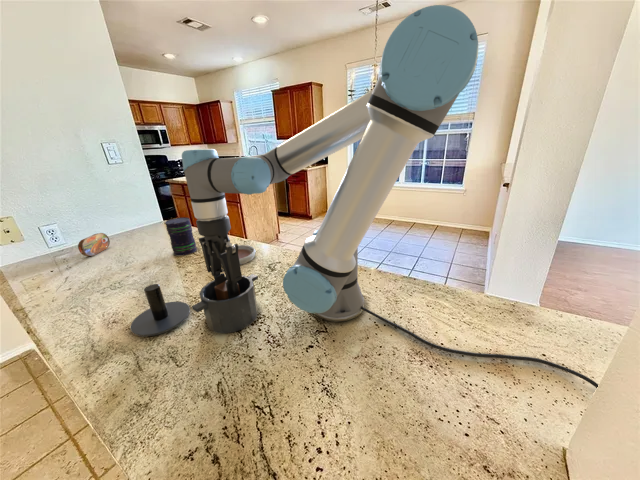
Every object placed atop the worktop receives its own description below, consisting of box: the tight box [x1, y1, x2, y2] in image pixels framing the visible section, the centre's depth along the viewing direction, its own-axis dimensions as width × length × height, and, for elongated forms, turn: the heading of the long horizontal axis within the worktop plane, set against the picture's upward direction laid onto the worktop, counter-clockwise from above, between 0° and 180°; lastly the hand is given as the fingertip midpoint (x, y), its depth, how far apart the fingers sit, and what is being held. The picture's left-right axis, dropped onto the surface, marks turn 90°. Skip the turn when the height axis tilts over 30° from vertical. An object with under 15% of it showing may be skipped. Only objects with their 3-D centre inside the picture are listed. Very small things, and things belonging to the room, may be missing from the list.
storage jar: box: [164, 216, 198, 257], centre depth 119 cm, size 10×10×15 cm
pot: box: [191, 273, 259, 334], centre depth 72 cm, size 14×19×10 cm
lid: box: [130, 283, 191, 338], centre depth 72 cm, size 15×15×11 cm
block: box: [214, 281, 240, 301], centre depth 71 cm, size 4×4×4 cm
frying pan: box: [221, 244, 257, 266], centre depth 114 cm, size 17×3×28 cm
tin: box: [77, 232, 111, 257], centre depth 125 cm, size 15×3×8 cm, turn 179°
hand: (229, 298), depth 72 cm, fingers closed on block, 4 cm apart
